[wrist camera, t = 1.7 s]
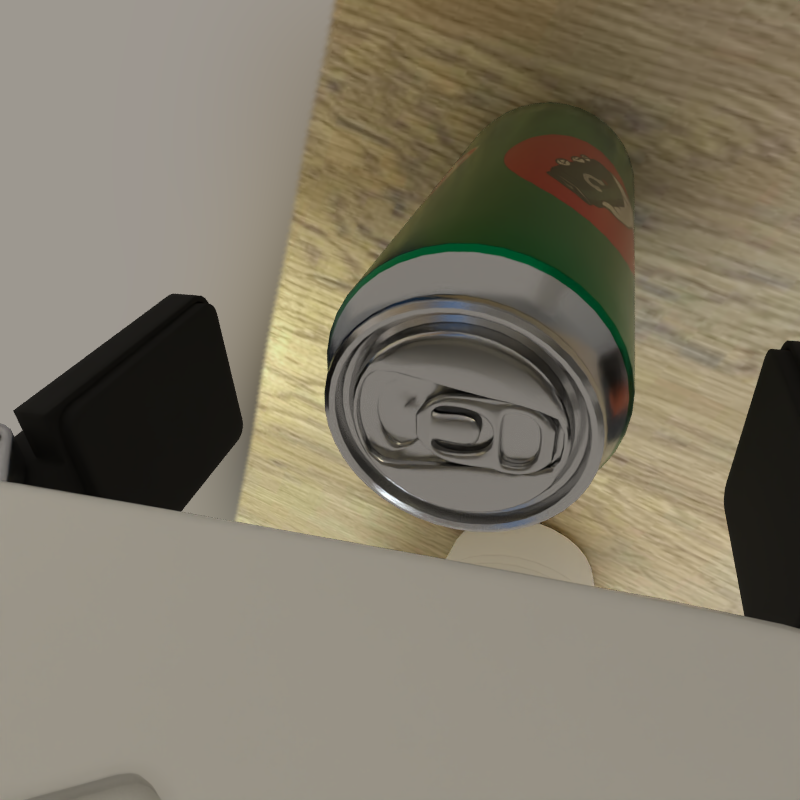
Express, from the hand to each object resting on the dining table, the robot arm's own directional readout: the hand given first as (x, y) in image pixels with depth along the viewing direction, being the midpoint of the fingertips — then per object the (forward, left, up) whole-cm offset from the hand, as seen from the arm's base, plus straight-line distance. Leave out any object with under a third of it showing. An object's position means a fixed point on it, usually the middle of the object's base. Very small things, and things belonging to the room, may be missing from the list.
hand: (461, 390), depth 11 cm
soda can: (0, 0, -11) cm, 11 cm away
